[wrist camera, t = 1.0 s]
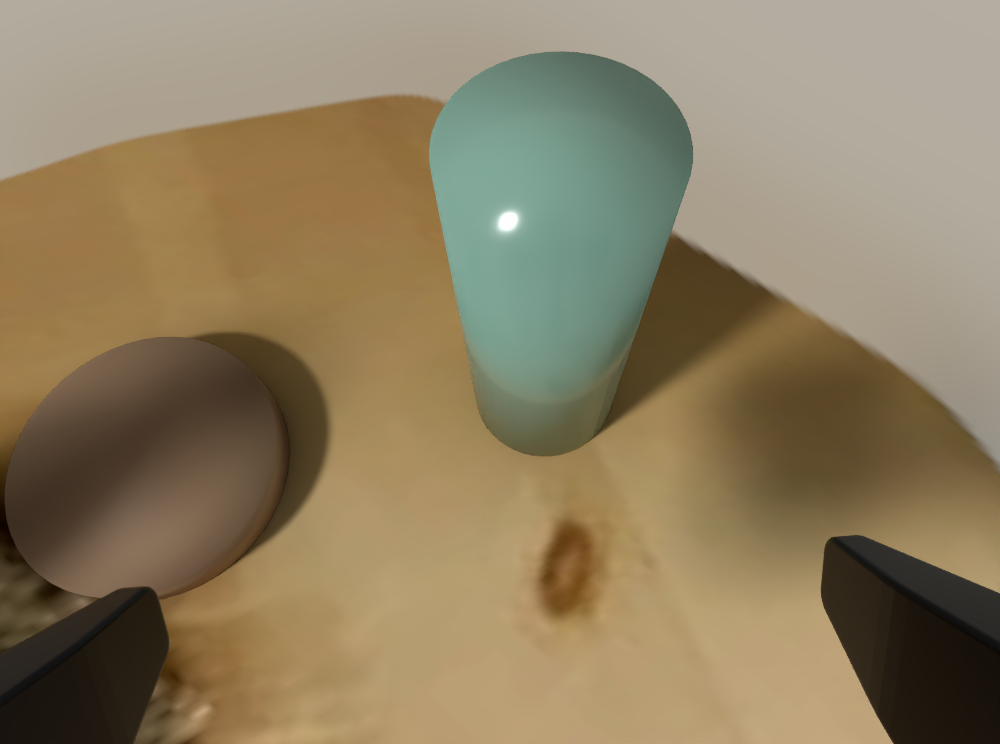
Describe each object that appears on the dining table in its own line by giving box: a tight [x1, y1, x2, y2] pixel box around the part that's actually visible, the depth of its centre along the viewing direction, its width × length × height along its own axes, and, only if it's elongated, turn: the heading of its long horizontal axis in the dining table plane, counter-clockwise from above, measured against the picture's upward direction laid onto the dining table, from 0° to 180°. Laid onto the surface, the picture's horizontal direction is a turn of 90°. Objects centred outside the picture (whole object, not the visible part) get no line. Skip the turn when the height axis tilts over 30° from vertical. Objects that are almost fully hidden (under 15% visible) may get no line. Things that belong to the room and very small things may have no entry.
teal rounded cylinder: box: [429, 52, 693, 456], centre depth 18 cm, size 5×5×12 cm
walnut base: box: [5, 337, 289, 599], centre depth 22 cm, size 9×9×2 cm
